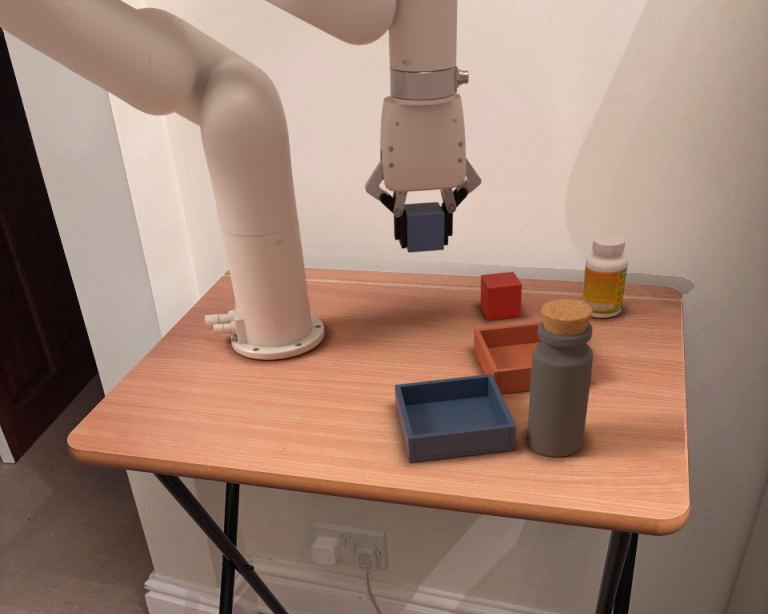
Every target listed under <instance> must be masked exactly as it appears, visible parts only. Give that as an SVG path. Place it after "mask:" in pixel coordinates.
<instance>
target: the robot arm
mask: <svg viewBox="0 0 768 614" xmlns="http://www.w3.org/2000/svg"><path fill="white" fill-rule="evenodd" d="M264 1H265V2H266V3H267V2H268V3H269V4H271V5H273V6H274V7H277V8H278V9H280V10H282V11H283V12H286V13H287V14H289V15H291V16H293V17H296V18H297V19H299V20H301V21H303V22H305V23H307V24H308V25H310V26H312V27H314V28H316V29H318V30H320V31H322V32H324V33H325V34H328V35H330V36H331V37H333V38H336V39H338V40H340V41H342V42H344V43H346V44H349V45H354V46H366V45H370V44H372V43H373V44H374V43H375V42H377V41H378V40H379V39H381V38H382V37H383V36H384V35H385V34H386V33H387V32H388V55H389V57H388V58H389V60H388V61H389V90H390V92H389V93H390V95H388V96H386V97H384V98H383V102H382V109H381V118H380V135H379V137H380V139H379V162H378V164H377V165H376V166H375V168H374V170H373V172H372V173H371V174H370V176H369V178H368V179H367V181H366V182H365V184H364V189H365V192H366V193H367V194H368V195H369V196H371V197H373V198H374V199H376V200H377V201H378V202H380V203H381V204H382V205H383V206H384V207H385V208H386V209H387V210H388V211H390V212H391V213H392V214H393V236H394V237H393V238H394V241H398V242H399V245H400V247H401V249H402V250H404V249H407V248H406V247H407V217H406V215H405V210H404V205H405V204H406V200H407V196H408V193H409V192H410V193H411V192H424V191H437V190H439V192H440V196H441V200H442V203H441V205H440V206H441V208H442V210H443V212H444V246H449V237H453V234H454V233H453V232H454V213H456V211H457V208H458V207H459V206H460V205H461V203H463V201H464V200H465V199H466V198H467V197H468V195H469V194H471V193H473V192H474V191H475V190H476V189H477V188H478V187H480V186H481V184H482V182H483V181H482V178H481V177H480V175H479V174H478V173H477V171H476V170H475V168H474V167H473V165H472V164H471V162H470V161H469V159H468V158H467V146H466V145H467V143H466V129H465V128H466V127H465V125H466V124H465V116H464V108H463V107H464V106H463V102H462V96H461V94H460V93H458V89H459V86H462V85H466V84H469V80H470V79H469V78H470V77H469V75H470V74H469V70H462V69H459V68H458V66H457V49H458V48H457V47H458V45H457V43H458V41H457V39H458V1H459V0H264ZM0 28H1V29H3V31H5V32H7V33H8V34H9V35H11V36H12V37H14V38H16V39H18V40H19V41H21V42H23V43H24V44H25V45H27V46H29V47H31V48H33V49H34V50H36V51H38V52H39V53H42V54H43V55H45V56H47V57H48V58H50V59H52V60H53V61H55V62H56V63H59V64H60V65H62V66H64V67H65V68H67V69H68V70H69V71H71V72H73V73H74V74H76V75H78V76H80V77H81V78H83V79H85V80H87V81H88V82H90V83H92V84H94V85H95V86H98V87H99V88H101V89H103V90H104V91H106V92H108V93H109V94H111V95H112V96H115V97H116V98H118V99H119V100H121V101H122V102H124V103H126V104H128V105H129V106H131V107H132V108H134V109H136V110H137V111H140V112H142V113H144V114H147V115H151V116H156V117H157V116H169V115H171V114H177V115H179V116H180V117H182V118H184V119H186V120H187V121H189V122H191V123H193V124H195V125H196V126H198V127H199V128H200V137H201V143H202V147H203V152H204V157H205V161H206V165H207V170H208V173H209V178H210V182H211V187H212V190H213V196H214V201H215V206H216V211H217V216H218V221H219V226H220V230H221V233H222V238H223V244H224V250H225V255H226V260H227V265H228V270H229V275H230V280H231V281H230V282H231V285H232V291H233V296H234V301H235V306H234V309H230V310H228V312H227V313H214V314H212V313H211V314H206V315H205V314H204V322H205V327H206V330H207V331H210V330H213V334H214V336H220V335H225V334H230V342H231V347H232V349H233V350H234V351H235V352H236V353H237V354H239V355H241V356H242V357H243V356H244V357H247V358H249V359H254V360H263V361H265V360H266V361H270V360H271V361H274V360H282V359H283V360H284V359H289V358H293V357H296V356H300V355H302V354H304V353H307V352H309V351H311V350H312V349H314V348H316V347H317V346H318V345H319V344H320V343H321V342H322V341H323V339H324V337H325V326H324V323H323V321H322V320H321V319H320V318H318V317H317V316H315V315H312V314H311V305H310V298H309V297H310V296H309V291H308V283H307V275H306V268H305V260H304V251H303V245H302V244H303V243H302V238H301V229H300V228H301V227H300V221H299V216H298V209H297V201H296V194H295V186H294V177H293V167H292V158H291V157H292V156H291V144H290V134H289V128H288V123H287V117H286V113H285V109H284V106H283V103H282V99H281V97H280V94H279V92H278V89H277V86H276V85H275V83H274V82H273V80H272V79H271V77H270V76H269V75H268V74H267V73H266V72H265V71H264V70H262V69H261V68H260V67H259V66H257V65H256V64H254V63H253V62H251V61H249V60H248V59H246V58H245V57H243V56H242V55H240V54H239V53H237V52H235V51H234V50H232V49H231V48H230V47H227V46H226V45H224V44H222V42H220V41H218V40H216V39H214V38H213V37H212V36H210V35H208V34H207V33H205V32H203V31H202V30H200V29H199V28H197V27H195V26H194V25H192V24H191V23H189V22H188V21H186V20H184V19H182V18H181V17H179V16H177V15H176V14H173V13H171V12H169V11H167V10H165V9H161V8H156V7H142V8H137V7H133V6H132V5H130V4H128V3H126V2H125V1H123V0H0ZM382 182H383V183H384V187H385V188H386V189H387V190H388V191H390V192H392V195H391V194H390V193H389V192H388V191H387V190H384V189H383V188H382V187H381V186H380V185H381V184H382Z"/></svg>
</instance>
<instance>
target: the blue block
mask: <svg viewBox="0 0 768 614" xmlns="http://www.w3.org/2000/svg"><path fill="white" fill-rule="evenodd" d="M404 210H405V215H406V217H407V247H406V248H405V249H406V251H407V253H421V252H422V253H423V252H434V251H444V250H445V245H444V212H443V210H442V208H441V205H440V203H439V201H433V202H418V203H417V202H416V203H405V205H404Z"/></svg>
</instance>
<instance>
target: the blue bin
mask: <svg viewBox="0 0 768 614" xmlns="http://www.w3.org/2000/svg"><path fill="white" fill-rule="evenodd" d="M394 397H395V398H394V399H395V409H396V413H397V418H398V421H399V426H400V429H401V434H402V438H403V443H404V446H405V450H406V455H407V458H408V462H409V463H417V462H426V461H435V460H442V459H449V458H451V459H452V458H460V457H467V456H479V455H485V454H494V453H502V452H510V451H515V450H516V436H517V435H516V434H517V425H516V423H515V421H514V418H513V416H512V414H511V412H510V410H509V408H508V406H507V404H506V401H505V399H504V397H503V395H502V394H501V393H500V390H499V388H498V386H497V384H496V382H495V380H494V377H493V375H492V374H487V375H485V374H478V375H468V376H459V377H452V378H451V377H450V378H444V379H433V380H425V381H417V382H416V381H415V382H407V383H398V384H394Z"/></svg>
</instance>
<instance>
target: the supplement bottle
mask: <svg viewBox="0 0 768 614" xmlns="http://www.w3.org/2000/svg"><path fill="white" fill-rule="evenodd" d="M625 246H626V238H624V237H623V236H621V235H619V234H618V235H617V234H612V233H610V234H609V233H607V234H605V233H604V234H599V235H596V236H595V237H593V239H592V246H591V247H592V248H591V249H592V252H591V253H590V254H588V255H587V257H586V259H585V264H584V274H583V283H582V291H581V292H582V293H581V300H580V301H582V302H585V303H587V304H589V305H590V306H591V307H592V310H593V311H592V315H591V318H597V319H600V318H601V319H606V318H612V317H615V316H616V317H617V316H618V315H619V314H621V311H622V307H623V301H624V293H625V287H626V282H627V281H626V280H627V274H628V273H627V272H628V266H629V259H628V257H627V256H626V254H624V252H625Z"/></svg>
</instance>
